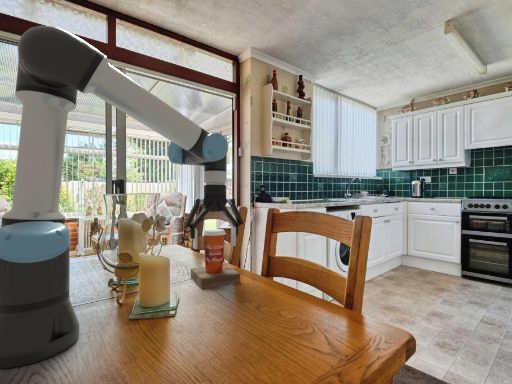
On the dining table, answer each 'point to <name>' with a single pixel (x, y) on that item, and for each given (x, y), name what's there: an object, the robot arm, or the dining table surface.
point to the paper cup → (214, 250)
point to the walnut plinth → (215, 277)
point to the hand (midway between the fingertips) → (214, 246)
